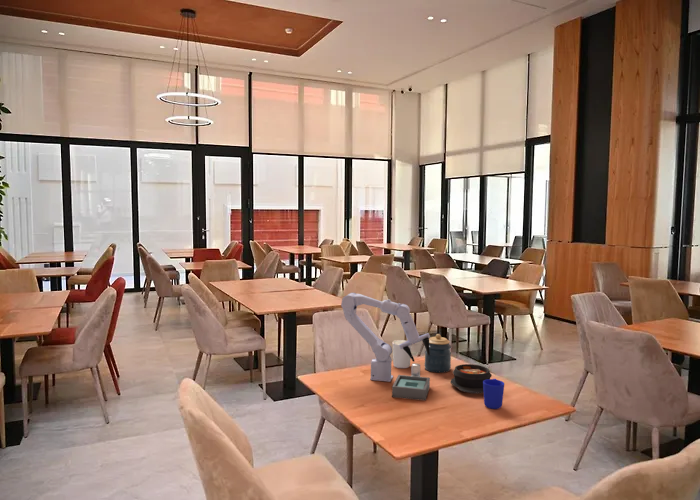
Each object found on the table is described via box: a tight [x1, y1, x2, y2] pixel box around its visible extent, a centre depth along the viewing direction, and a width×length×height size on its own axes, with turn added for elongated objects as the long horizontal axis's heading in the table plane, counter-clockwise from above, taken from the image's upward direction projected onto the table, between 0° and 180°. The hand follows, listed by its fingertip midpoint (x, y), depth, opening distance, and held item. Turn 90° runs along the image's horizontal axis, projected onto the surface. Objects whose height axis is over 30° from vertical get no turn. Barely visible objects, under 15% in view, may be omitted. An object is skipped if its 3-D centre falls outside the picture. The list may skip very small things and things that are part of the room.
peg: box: [410, 362, 421, 377], centre depth 230 cm, size 4×4×8 cm
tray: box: [391, 374, 431, 401], centre depth 216 cm, size 14×16×4 cm
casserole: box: [450, 363, 493, 394], centre depth 223 cm, size 25×19×8 cm
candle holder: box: [391, 339, 413, 369], centre depth 253 cm, size 10×10×12 cm
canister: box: [424, 333, 452, 373], centre depth 248 cm, size 13×13×18 cm
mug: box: [483, 378, 505, 410], centre depth 202 cm, size 8×12×10 cm
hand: (421, 357), depth 228 cm, fingers open, 7 cm apart
